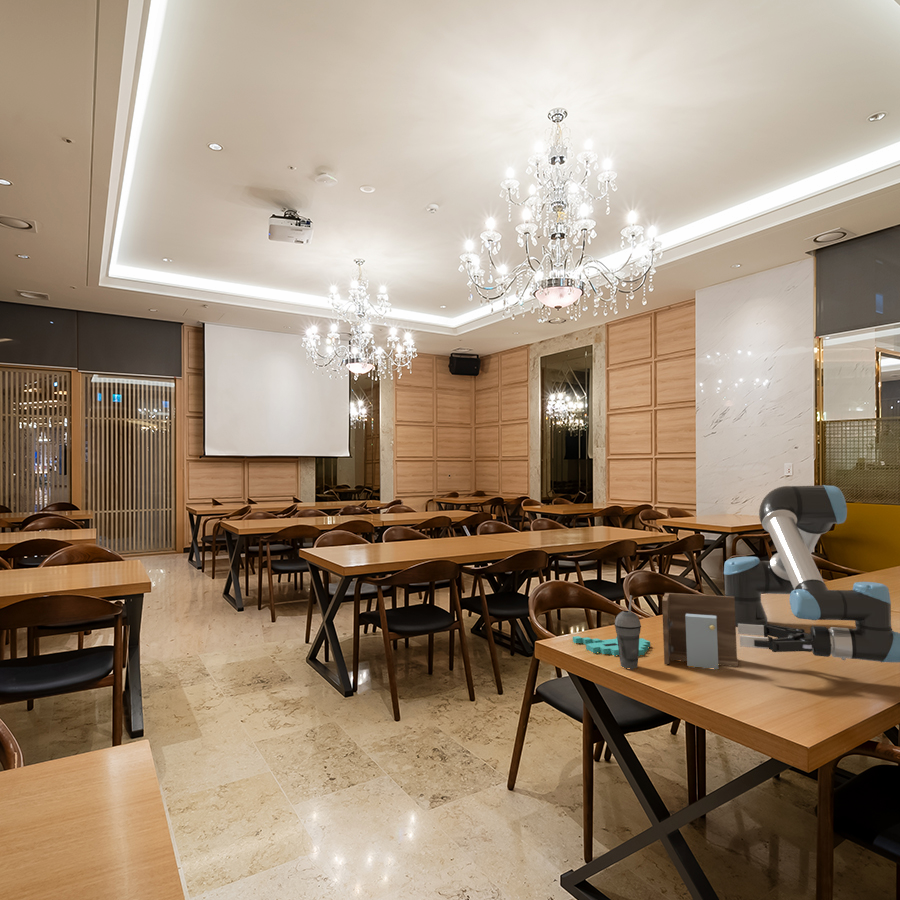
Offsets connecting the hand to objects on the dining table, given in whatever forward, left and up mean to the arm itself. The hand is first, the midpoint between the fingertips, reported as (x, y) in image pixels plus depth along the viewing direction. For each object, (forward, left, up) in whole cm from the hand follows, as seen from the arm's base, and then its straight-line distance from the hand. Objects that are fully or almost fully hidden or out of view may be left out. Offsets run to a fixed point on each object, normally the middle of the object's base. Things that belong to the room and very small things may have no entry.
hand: (738, 634), depth 161 cm
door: (0, -9, -10) cm, 14 cm away
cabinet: (-4, -11, -10) cm, 15 cm away
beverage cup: (+8, -29, -10) cm, 31 cm away
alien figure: (-10, -35, -10) cm, 38 cm away
